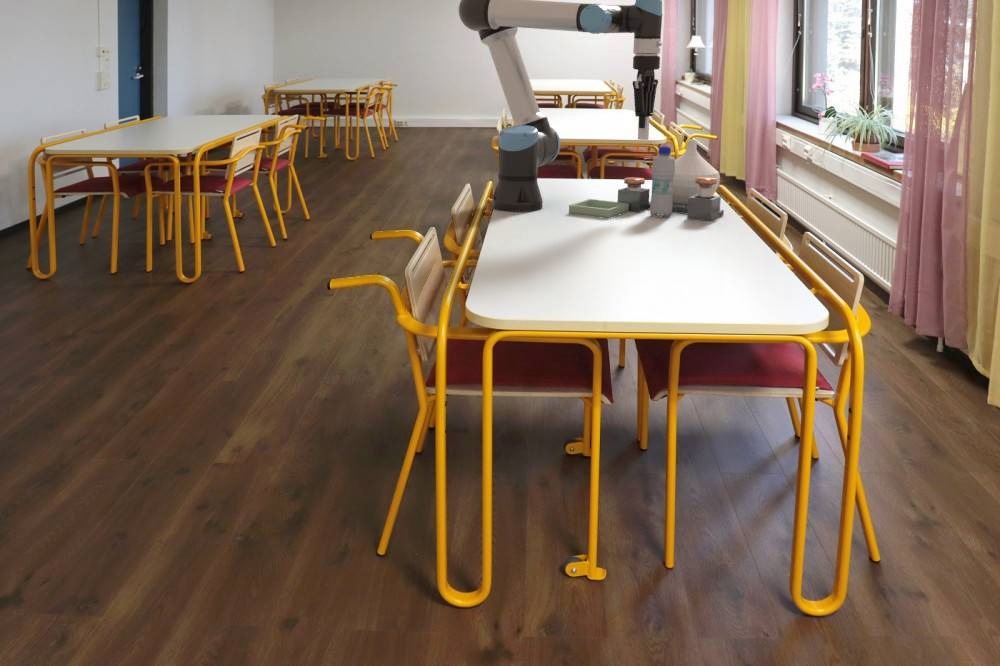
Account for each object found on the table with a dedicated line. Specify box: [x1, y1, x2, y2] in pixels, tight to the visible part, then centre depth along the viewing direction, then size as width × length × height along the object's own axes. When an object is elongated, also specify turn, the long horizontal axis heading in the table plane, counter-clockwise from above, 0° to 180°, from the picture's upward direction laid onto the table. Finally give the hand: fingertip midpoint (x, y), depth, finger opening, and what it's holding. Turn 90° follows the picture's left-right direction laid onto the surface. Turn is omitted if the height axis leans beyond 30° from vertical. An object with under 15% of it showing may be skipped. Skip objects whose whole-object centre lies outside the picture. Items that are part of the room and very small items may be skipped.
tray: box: [568, 198, 629, 219], centre depth 284 cm, size 13×13×2 cm
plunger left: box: [623, 177, 646, 191], centre depth 288 cm, size 6×6×8 cm
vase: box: [672, 139, 721, 206], centre depth 299 cm, size 18×18×19 cm
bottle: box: [649, 145, 676, 219], centre depth 277 cm, size 7×7×20 cm
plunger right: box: [695, 177, 717, 199], centre depth 276 cm, size 6×6×8 cm
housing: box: [617, 186, 724, 222], centre depth 285 cm, size 29×10×6 cm, turn 58°
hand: (643, 139), depth 282 cm, fingers closed
